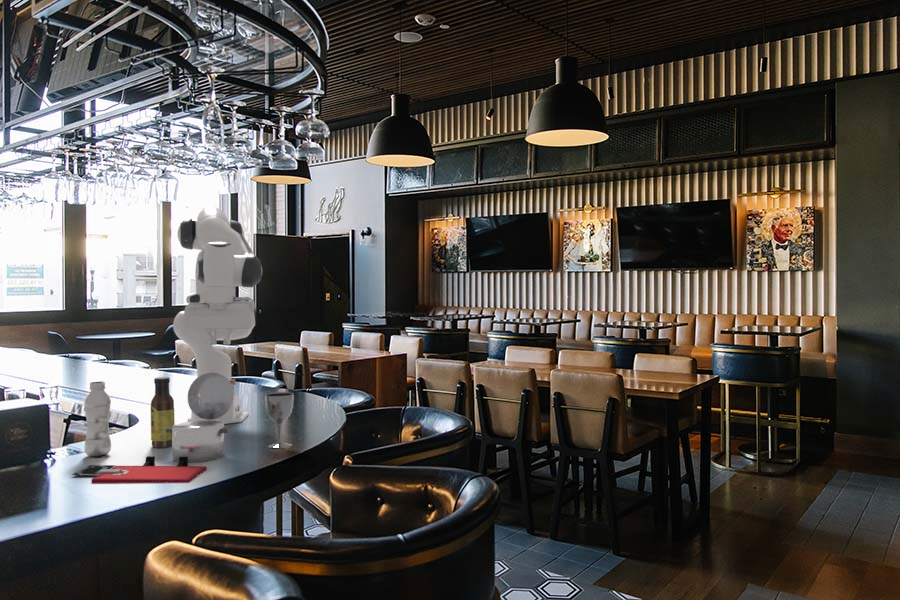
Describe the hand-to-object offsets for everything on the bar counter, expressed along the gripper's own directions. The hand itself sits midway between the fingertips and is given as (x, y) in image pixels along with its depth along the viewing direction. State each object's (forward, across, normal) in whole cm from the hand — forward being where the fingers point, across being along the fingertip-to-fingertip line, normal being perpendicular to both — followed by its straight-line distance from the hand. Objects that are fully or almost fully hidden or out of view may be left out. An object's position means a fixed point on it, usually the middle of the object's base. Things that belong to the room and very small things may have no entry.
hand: (219, 344), depth 190 cm
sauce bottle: (+29, +16, +3) cm, 33 cm away
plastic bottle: (+29, +28, +14) cm, 43 cm away
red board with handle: (+30, +7, +32) cm, 44 cm away
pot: (+29, 0, +15) cm, 33 cm away
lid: (+14, 0, +7) cm, 16 cm away
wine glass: (+29, -18, +2) cm, 34 cm away
